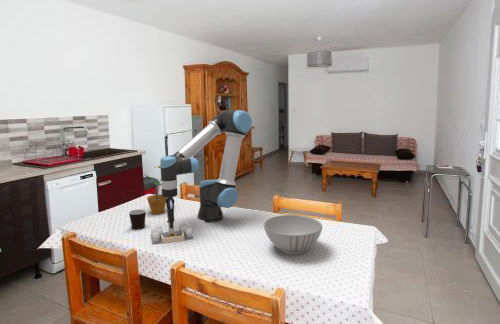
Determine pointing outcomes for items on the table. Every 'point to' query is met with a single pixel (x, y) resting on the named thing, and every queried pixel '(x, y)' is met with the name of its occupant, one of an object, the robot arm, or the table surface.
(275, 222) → the decorative bowl
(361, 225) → the table surface
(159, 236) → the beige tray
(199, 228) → the table surface
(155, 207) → the potted plant
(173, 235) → the nut
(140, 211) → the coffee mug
